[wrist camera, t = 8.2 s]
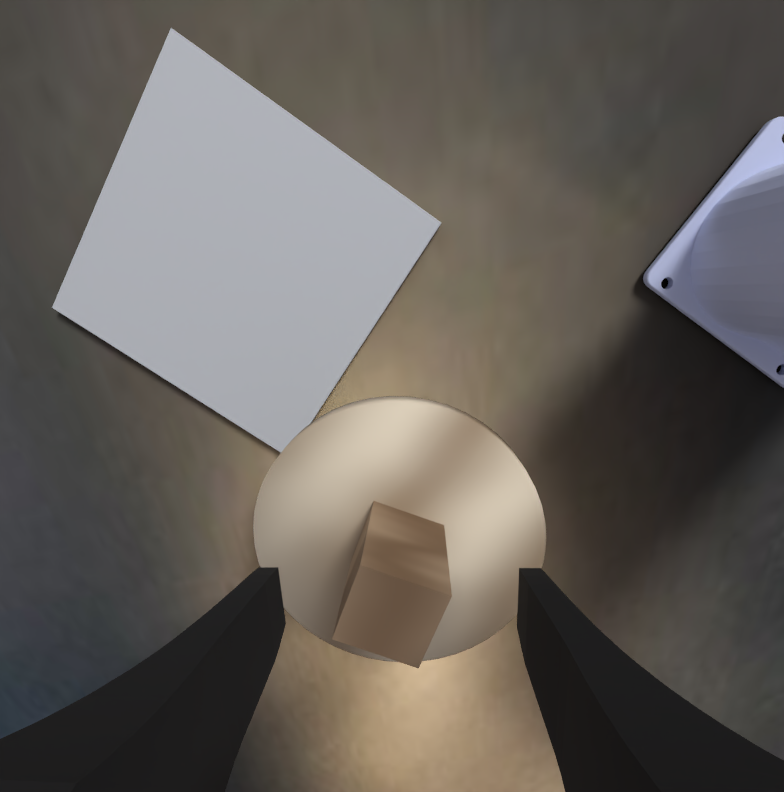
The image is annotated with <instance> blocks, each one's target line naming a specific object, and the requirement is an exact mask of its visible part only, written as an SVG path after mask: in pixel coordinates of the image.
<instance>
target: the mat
mask: <svg viewBox="0 0 784 792" xmlns="http://www.w3.org/2000/svg"><path fill="white" fill-rule="evenodd" d="M440 225H441V222H440V221H438V220H437V219H436V218H434V217H433V216H431V215H430V214H429V213H427V212H426V211H424V210H423V209H422V208H420V207H419V206H418V205H416V204H415V203H413V202H412V201H411V200H409V199H408V198H406V197H405V196H404V195H402V194H401V193H399V192H398V191H397V190H395V189H394V188H393V187H391V186H390V185H388V184H387V183H386V182H384V181H383V180H381V179H380V178H379V177H377V176H376V175H374V174H373V173H372V172H370V171H369V170H368V169H366V168H365V167H363V166H362V165H361V164H359V163H358V162H356V161H355V160H354V159H352V158H351V157H350V156H348V155H347V154H345V153H344V152H343V151H341V150H340V149H338V148H337V147H336V146H334V145H333V144H331V143H330V142H329V141H327V140H326V139H325V138H323V137H322V136H320V135H319V134H318V133H316V132H315V131H313V130H312V129H311V128H309V127H308V126H306V125H305V124H304V123H302V122H301V121H300V120H298V119H297V118H295V117H294V116H293V115H291V114H290V113H288V112H287V111H286V110H284V109H283V108H282V107H280V106H279V105H277V104H276V103H275V102H273V101H272V100H270V99H269V98H268V97H266V96H265V95H263V94H262V93H261V92H259V91H258V90H257V89H255V88H254V87H252V86H251V85H250V84H248V83H247V82H245V81H244V80H243V79H241V78H240V77H239V76H237V75H236V74H234V73H233V72H232V71H230V70H229V69H227V68H226V67H225V66H223V65H222V64H220V63H219V62H218V61H216V60H215V59H214V58H212V57H211V56H209V55H208V54H207V53H205V52H204V51H202V50H201V49H200V48H198V47H197V46H195V45H194V44H193V43H191V42H190V41H189V40H187V39H186V38H184V37H183V36H182V35H180V34H179V33H177V32H176V31H175V30H173V29H172V28H171V29H170V32H169V34H168V36H167V39H166V41H165V43H164V46H163V48H162V50H161V53H160V55H159V58H158V60H157V62H156V65H155V67H154V69H153V72H152V74H151V76H150V79H149V81H148V83H147V86H146V88H145V90H144V93H143V95H142V98H141V100H140V102H139V105H138V107H137V109H136V112H135V114H134V116H133V119H132V121H131V123H130V126H129V128H128V130H127V133H126V135H125V137H124V140H123V142H122V145H121V147H120V149H119V152H118V154H117V156H116V159H115V161H114V163H113V166H112V168H111V170H110V173H109V175H108V177H107V180H106V182H105V185H104V187H103V189H102V192H101V194H100V196H99V199H98V201H97V203H96V206H95V208H94V210H93V213H92V215H91V217H90V220H89V222H88V225H87V227H86V229H85V232H84V234H83V236H82V239H81V241H80V243H79V246H78V248H77V250H76V253H75V255H74V257H73V260H72V262H71V265H70V267H69V269H68V272H67V274H66V276H65V279H64V281H63V283H62V286H61V288H60V290H59V293H58V295H57V297H56V300H55V302H54V304H53V307H52V308H53V309H55V310H57V311H58V312H60V313H61V314H63V315H65V316H66V317H68V318H69V319H71V320H72V321H74V322H76V323H77V324H79V325H80V326H82V327H83V328H85V329H87V330H88V331H90V332H91V333H93V334H94V335H96V336H98V337H99V338H101V339H102V340H104V341H106V342H107V343H109V344H110V345H112V346H113V347H115V348H117V349H118V350H120V351H121V352H123V353H124V354H126V355H128V356H129V357H131V358H132V359H134V360H136V361H137V362H139V363H140V364H142V365H143V366H145V367H147V368H148V369H150V370H151V371H153V372H154V373H156V374H158V375H159V376H161V377H162V378H164V379H166V380H167V381H169V382H170V383H172V384H173V385H175V386H177V387H178V388H180V389H181V390H183V391H184V392H186V393H188V394H189V395H191V396H192V397H194V398H196V399H197V400H199V401H200V402H202V403H203V404H205V405H207V406H208V407H210V408H211V409H213V410H214V411H216V412H218V413H219V414H221V415H222V416H224V417H225V418H227V419H229V420H230V421H232V422H233V423H235V424H237V425H238V426H240V427H241V428H243V429H244V430H246V431H248V432H249V433H251V434H252V435H254V436H255V437H257V438H259V439H260V440H262V441H263V442H265V443H267V444H268V445H270V446H271V447H273V448H274V449H276V450H278V451H279V452H282V451H283V450H284V448H285V447H286V446H287V445H288V444H289V443H290V441H291V440H292V439H293V438H294V437H295V436H296V435H297V434H298V433H300V432H301V431H302V430H303V429H304V428H305V427H306V426H308V425H309V424H310V423H311V422H312V421H313V419H314V418H315V416H316V415H317V413H318V412H319V410H320V409H321V407H322V406H323V404H324V402H325V401H326V399H327V398H328V396H329V395H330V393H331V392H332V390H333V389H334V387H335V386H336V384H337V383H338V381H339V379H340V378H341V376H342V375H343V373H344V372H345V370H346V369H347V367H348V366H349V364H350V363H351V361H352V360H353V358H354V356H355V355H356V353H357V352H358V350H359V349H360V347H361V346H362V344H363V343H364V341H365V340H366V338H367V337H368V335H369V334H370V332H371V330H372V329H373V327H374V326H375V324H376V323H377V321H378V320H379V318H380V317H381V315H382V314H383V312H384V311H385V309H386V307H387V306H388V304H389V303H390V301H391V300H392V298H393V297H394V295H395V294H396V292H397V291H398V289H399V288H400V286H401V285H402V283H403V281H404V280H405V278H406V277H407V275H408V274H409V272H410V271H411V269H412V268H413V266H414V265H415V263H416V262H417V260H418V258H419V257H420V255H421V254H422V252H423V251H424V249H425V248H426V246H427V245H428V243H429V242H430V240H431V239H432V237H433V235H434V234H435V232H436V231H437V229H438V228H439V226H440Z"/></svg>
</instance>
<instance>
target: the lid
mask: <svg viewBox="0 0 784 792" xmlns="http://www.w3.org/2000/svg"><path fill="white" fill-rule="evenodd" d="M253 532H254V544H255V549H256V554H257V558H258V562H259V565H260V567H278V569H279V577H280V584H281V592H282V600H283V607H284V608H285V609H286V611H287V612H288V613H289V614H290V615H291V616H292V617H293V618H294V619H295V620H296V621H297V622H299V623H300V624H301V625H302V626H303V627H304V628H306V629H307V630H308V631H310V632H311V633H313V634H314V635H316V636H317V637H319V638H320V639H322V640H324V641H326V642H327V643H329V644H331V645H333V646H335V647H337V648H340V649H342V650H345V651H347V652H350V653H352V654H356V655H360V656H363V657H367V658H371V659H377V660H383V661H394V662H401V663H404V664H407V665H410V666H413V667H416V668H419V666H420V664H421V662H422V661H426V660H433V659H439V658H443V657H446V656H450V655H454V654H457V653H459V652H462V651H464V650H467V649H469V648H472V647H474V646H476V645H477V644H479V643H481V642H483V641H485V640H487V639H488V638H490V637H491V636H492V635H494V634H495V633H497V632H498V631H499V630H501V629H502V628H503V627H504V626H505V625H506V624H507V623H508V622H509V621H511V620H512V619H513V618H514V617H515V615H516V614H517V613H518V584H519V568H541V569H542V565H543V561H544V557H545V548H546V524H545V518H544V513H543V508H542V504H541V502H540V499H539V496H538V493H537V490H536V488H535V486H534V484H533V482H532V481H531V479H530V477H529V475H528V473H527V471H526V470H525V468H524V466H523V465H522V463H521V461H520V460H519V459H518V457H517V456H516V455H515V453H514V452H513V450H512V449H511V448H510V447H509V446H508V445H507V444H506V442H505V441H504V440H503V439H502V438H501V437H500V436H499V435H498V434H497V433H495V432H494V431H493V430H492V429H490V428H489V427H488V426H486V425H485V424H484V423H483V422H481V421H479V420H478V419H476V418H474V417H472V416H471V415H469V414H467V413H466V412H463V411H461V410H459V409H456V408H454V407H452V406H449V405H446V404H443V403H439V402H436V401H432V400H429V399H422V398H415V397H405V396H386V397H377V398H369V399H365V400H361V401H356V402H352V403H349V404H347V405H344V406H341V407H339V408H336V409H334V410H332V411H330V412H328V413H326V414H324V415H323V416H321V417H319V418H317V419H316V420H315V421H313V422H312V423H310V424H309V425H308V426H306V427H305V428H304V429H303V430H302V431H301V432H300V433H298V434H297V435H296V436H295V437H294V438H293V439H292V440H291V441H290V443H289V444H288V445H287V446H286V447H285V448H284V450H283V451H282V452H281V454H280V455H279V456H278V457H277V459H276V460H275V461H274V463H273V464H272V466H271V468H270V469H269V471H268V473H267V475H266V477H265V478H264V480H263V483H262V486H261V488H260V491H259V494H258V497H257V502H256V507H255V511H254V525H253Z"/></svg>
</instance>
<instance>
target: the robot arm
mask: <svg viewBox="0 0 784 792" xmlns="http://www.w3.org/2000/svg"><path fill="white" fill-rule="evenodd" d="M783 134H784V117H777V118H775V119H773V120H771V121H769V122H767V123H766V124H765V125H764V126H763V127H762V128H761V129H760V131H759V132H758V133H757V134H756V136H755V137H754V138H753V139H752V141H751V142H750V143H749V144H748V146H747V147H746V148H745V149H744V150H743V152H742V153H741V154H740V155H739V157H738V158H737V159H736V160H735V162H734V163H733V164H732V165H731V167H730V168H729V169H728V170H727V171H726V173H725V174H724V175H723V176H722V178H721V179H720V180H719V181H718V183H717V184H716V185H715V186H714V188H713V189H712V190H711V191H710V192H709V194H708V195H707V196H706V197H705V199H704V200H703V201H702V202H701V204H700V205H699V206H698V207H697V209H696V210H695V211H694V212H693V213H692V215H691V216H690V217H689V218H688V220H687V221H686V222H685V223H684V225H683V226H682V227H681V228H680V230H679V231H678V232H677V233H676V234H675V236H674V237H673V238H672V239H671V241H670V242H669V243H668V244H667V246H666V247H665V248H664V249H663V251H662V252H661V253H660V254H659V255H658V257H657V258H656V259H655V260H654V262H653V263H652V264H651V265H650V267H649V268H648V269H647V270H646V272H645V274H644V277H643V281H644V284H645V285H646V286H647V287H648V288H650V289H651V290H652V291H654V292H655V293H656V294H658V295H659V296H660V297H662V298H663V299H664V300H666V301H667V302H668V303H670V304H671V305H672V306H674V307H675V308H676V309H678V310H679V311H680V312H682V313H683V314H685V315H686V316H687V317H689V318H690V319H691V320H693V321H694V322H695V323H697V324H698V325H699V326H701V327H702V328H703V329H705V330H706V331H707V332H709V333H710V334H711V335H713V336H714V337H715V338H717V339H718V340H719V341H721V342H722V343H723V344H725V345H726V346H728V347H729V348H730V349H732V350H733V351H734V352H736V353H737V354H738V355H740V356H741V357H742V358H744V359H745V360H746V361H748V362H749V363H750V364H752V365H753V366H754V367H756V368H757V369H758V370H760V371H761V372H762V373H764V374H765V375H767V376H768V377H769V378H771V379H772V380H773V381H775V382H776V383H777V384H779V385H780V386H781V387H783V388H784V143H783V142H782V136H783ZM664 278H667V280H668V285H667V287H666V288H665V289H663V288H662V286H661V282H662V280H663V279H664ZM779 365H781V369H780V371H779V372H776V369H777V367H778V366H779ZM285 624H286V623H285V615H284V607H283V600H282V592H281V584H280V577H279V569H278V567H259V568H258V569H256V570H255V571H254V572H253V573H252V574H250V575H249V576H248V577H247V578H246V579H245V580H244V581H243V582H241V583H240V584H239V585H238V586H237V587H236V588H235V589H234V590H232V591H231V592H230V593H229V594H228V595H227V596H226V597H224V598H223V599H222V600H221V601H220V602H219V603H218V604H216V605H215V606H214V607H213V608H212V609H211V610H209V611H208V612H207V613H206V614H205V615H203V616H202V617H201V618H200V619H198V620H197V621H196V622H195V623H193V624H192V625H191V626H190V627H188V628H187V629H186V630H185V631H183V632H182V633H181V634H180V635H178V636H177V637H176V638H175V639H173V640H172V641H171V642H169V643H168V644H167V645H165V646H164V647H162V648H161V649H160V650H158V651H157V652H155V653H154V654H153V655H151V656H150V657H148V658H147V659H145V660H144V661H142V662H141V663H139V664H138V665H136V666H135V667H133V668H132V669H130V670H129V671H127V672H125V673H124V674H122V675H120V676H119V677H117V678H115V679H114V680H112V681H111V682H109V683H107V684H106V685H104V686H102V687H101V688H99V689H97V690H96V691H94V692H92V693H91V694H89V695H87V696H85V697H83V698H82V699H80V700H78V701H76V702H74V703H73V704H71V705H69V706H67V707H65V708H63V709H61V710H59V711H57V712H55V713H54V714H52V715H50V716H48V717H46V718H44V719H42V720H40V721H38V722H36V723H34V724H32V725H30V726H28V727H25V728H23V729H21V730H19V731H17V732H15V733H12V734H10V735H8V736H6V737H4V738H1V739H0V792H225V789H226V786H227V783H228V780H229V776H230V773H231V770H232V767H233V764H234V761H235V758H236V756H237V753H238V750H239V748H240V745H241V742H242V740H243V737H244V735H245V733H246V730H247V728H248V725H249V723H250V720H251V718H252V716H253V713H254V711H255V708H256V706H257V704H258V701H259V699H260V696H261V694H262V692H263V689H264V687H265V684H266V682H267V679H268V677H269V674H270V672H271V669H272V667H273V664H274V662H275V659H276V656H277V653H278V649H279V646H280V643H281V639H282V635H283V632H284V628H285ZM517 629H518V634H519V638H520V643H521V648H522V652H523V657H524V661H525V665H526V668H527V671H528V674H529V677H530V680H531V683H532V686H533V689H534V692H535V695H536V698H537V701H538V704H539V707H540V710H541V713H542V716H543V719H544V722H545V725H546V728H547V731H548V734H549V737H550V740H551V743H552V746H553V749H554V752H555V755H556V759H557V762H558V766H559V769H560V772H561V776H562V780H563V784H564V788H565V792H784V761H783V760H782V759H780V758H778V757H776V756H774V755H772V754H771V753H769V752H767V751H765V750H763V749H762V748H760V747H758V746H757V745H755V744H753V743H752V742H750V741H748V740H747V739H745V738H743V737H742V736H740V735H739V734H737V733H735V732H734V731H732V730H730V729H729V728H727V727H726V726H724V725H722V724H721V723H719V722H718V721H716V720H715V719H713V718H712V717H710V716H709V715H707V714H705V713H704V712H702V711H701V710H699V709H698V708H697V707H695V706H694V705H692V704H691V703H689V702H688V701H687V700H685V699H684V698H682V697H681V696H680V695H678V694H677V693H675V692H674V691H672V690H671V689H670V688H668V687H667V686H666V685H664V684H663V683H662V682H660V681H659V680H658V679H656V678H655V677H654V676H653V675H651V674H650V673H649V672H648V671H646V670H645V669H644V668H642V667H641V666H640V665H639V664H637V663H636V662H635V661H634V660H632V659H631V658H630V657H629V656H628V655H627V654H625V653H624V652H623V651H622V650H621V649H620V648H619V647H617V646H616V645H615V644H614V643H613V642H612V641H611V640H610V639H609V638H607V637H606V636H605V635H604V634H603V633H602V632H601V631H600V630H599V629H598V628H597V627H596V626H595V625H594V624H593V623H592V622H591V621H590V620H589V619H588V618H587V617H586V616H585V615H584V614H583V613H582V612H581V611H580V610H579V609H578V608H577V607H576V606H575V605H574V604H573V603H572V602H571V601H570V600H569V598H568V597H567V596H566V595H565V594H564V593H563V592H562V591H561V590H560V589H559V588H558V586H557V585H556V584H555V583H554V582H553V581H552V580H551V579H550V578H549V577H548V575H547V574H546V573H545V572H544V571H543V570H542V569H541V568H519V584H518V613H517Z"/></svg>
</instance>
